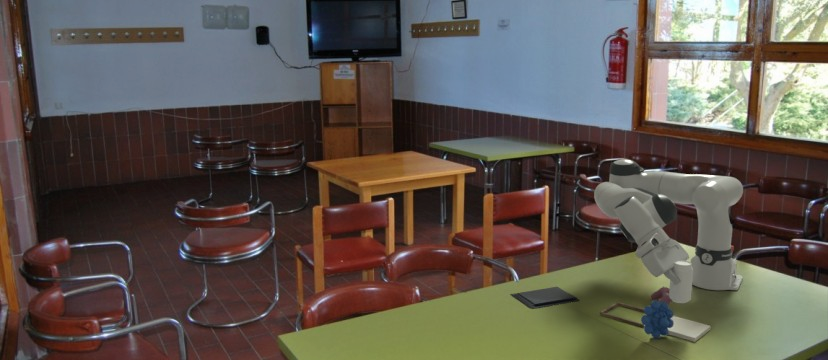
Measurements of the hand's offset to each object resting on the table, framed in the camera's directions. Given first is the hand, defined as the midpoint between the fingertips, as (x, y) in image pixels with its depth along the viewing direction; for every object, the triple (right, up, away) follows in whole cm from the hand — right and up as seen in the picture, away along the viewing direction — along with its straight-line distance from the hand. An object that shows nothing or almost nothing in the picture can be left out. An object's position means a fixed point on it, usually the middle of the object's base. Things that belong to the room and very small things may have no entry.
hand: (683, 280), depth 209 cm
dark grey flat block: (-36, -11, +30) cm, 48 cm away
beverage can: (0, -7, +2) cm, 7 cm away
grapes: (-9, -17, -4) cm, 20 cm away
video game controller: (+2, -12, +23) cm, 26 cm away
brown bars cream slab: (-6, -14, +9) cm, 18 cm away
